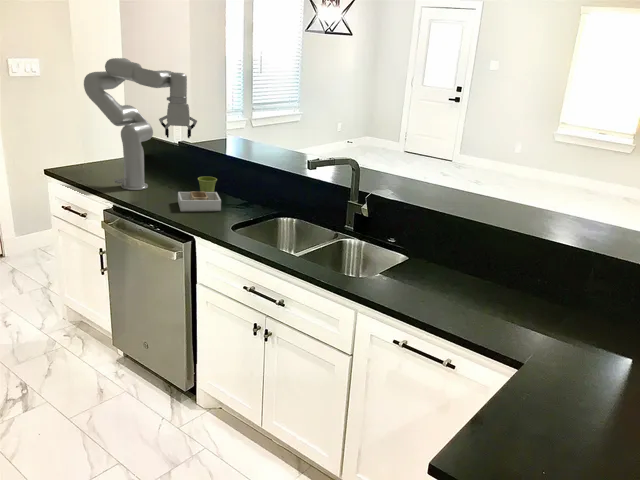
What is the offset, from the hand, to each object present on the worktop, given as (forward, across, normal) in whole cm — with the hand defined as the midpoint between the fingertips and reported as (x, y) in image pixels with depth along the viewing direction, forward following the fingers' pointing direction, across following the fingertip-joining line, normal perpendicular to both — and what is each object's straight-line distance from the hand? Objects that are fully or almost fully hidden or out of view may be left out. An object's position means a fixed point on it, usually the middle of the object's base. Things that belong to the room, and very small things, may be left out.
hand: (178, 137), depth 257 cm
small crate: (+28, +8, -19) cm, 34 cm away
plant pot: (+28, +14, -1) cm, 32 cm away
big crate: (+28, +8, -19) cm, 35 cm away
